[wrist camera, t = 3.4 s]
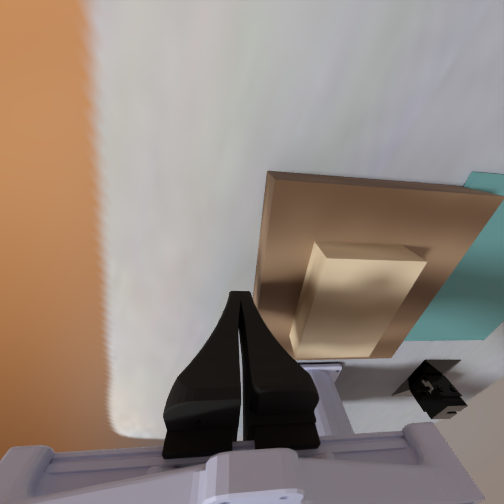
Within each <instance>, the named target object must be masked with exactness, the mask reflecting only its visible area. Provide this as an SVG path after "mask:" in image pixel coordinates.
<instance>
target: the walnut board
mask: <svg viewBox="0 0 504 504" xmlns="http://www.w3.org/2000/svg"><path fill="white" fill-rule="evenodd" d="M503 200H504V196H501V195H497V194H492V193H488V192H483V191H479V190H474V189H470V188H465V187H461V186H454V185H441V184H428V183H416V182H403V181H390V180H377V179H364V178H351V177H338V176H325V175H312V174H300V173H287V172H274V171H267V177H266V186H265V195H264V204H263V213H262V222H261V231H260V240H259V248H258V257H257V266H256V275H255V284H254V293H253V301H254V303H255V306H256V308H257V310H258V312H259V313H260V315H261V317H262V319H263V321H264V322H265V324H266V325H267V327H268V329H269V330H270V331H271V333H272V334H273V336H274V337H275V338H276V340H277V341H278V342H279V343H280V345H281V346H282V347H283V348H284V349H285V350H286V351H287V352H288V354H289V355H290V356H291V357H292V358H293V359H294V360H324V359H370V358H392V356H393V355H394V353H395V352H396V350H397V349H398V348H399V346H400V345H401V343H402V342H403V341H404V339H405V338H406V336H407V335H408V334H409V332H410V331H411V329H412V328H413V327H414V325H415V324H416V322H417V321H418V320H419V318H420V317H421V315H422V314H423V312H424V311H425V310H426V308H427V307H428V305H429V304H430V303H431V301H432V300H433V298H434V297H435V296H436V294H437V293H438V291H439V290H440V289H441V287H442V286H443V284H444V283H445V282H446V280H447V279H448V277H449V276H450V274H451V273H452V272H453V270H454V269H455V267H456V266H457V265H458V263H459V262H460V260H461V259H462V258H463V256H464V255H465V253H466V252H467V251H468V249H469V248H470V246H471V245H472V244H473V242H474V241H475V239H476V238H477V236H478V235H479V234H480V232H481V231H482V229H483V228H484V227H485V225H486V224H487V222H488V221H489V220H490V218H491V217H492V215H493V214H494V213H495V211H496V210H497V208H498V207H499V206H500V204H501V203H502V201H503ZM314 242H338V243H362V244H386V245H403V246H404V247H406V248H407V249H409V250H410V251H412V252H413V253H415V254H416V255H418V256H420V257H421V258H423V259H424V260H426V261H427V263H426V265H425V267H424V268H423V270H422V271H421V273H420V275H419V276H418V278H417V280H416V281H415V283H414V284H413V286H412V288H411V289H410V291H409V293H408V294H407V296H406V297H405V299H404V301H403V302H402V304H401V306H400V307H399V309H398V310H397V312H396V314H395V315H394V317H393V319H392V320H391V322H390V323H389V325H388V327H387V328H386V330H385V332H384V333H383V335H382V336H381V338H380V340H379V341H378V343H377V345H376V346H375V348H374V349H373V351H372V353H371V354H370V356H369V357H343V358H295V355H294V351H293V348H292V344H291V340H290V337H289V335H290V331H291V328H292V324H293V320H294V316H295V312H296V309H297V305H298V301H299V297H300V294H301V290H302V286H303V282H304V279H305V275H306V271H307V267H308V264H309V260H310V256H311V252H312V248H313V245H314Z"/></svg>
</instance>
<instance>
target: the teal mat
mask: <svg viewBox="0 0 504 504" xmlns="http://www.w3.org/2000/svg"><path fill="white" fill-rule="evenodd" d="M463 187H465V188H470V189H474V190H479V191H483V192H488V193H492V194H497V195H501V196H504V174H494V173H483V172H472V173H471V175H470V176H469V178H468V180H467V181H466V183H465V185H464V186H463ZM503 321H504V200H503V201H502V203H501V204H500V206H499V207H498V208H497V210H496V211H495V213H494V214H493V215H492V217H491V218H490V220H489V221H488V222H487V224H486V225H485V227H484V228H483V229H482V231H481V232H480V234H479V235H478V236H477V238H476V239H475V241H474V242H473V244H472V245H471V246H470V248H469V249H468V251H467V252H466V253H465V255H464V256H463V258H462V259H461V260H460V262H459V263H458V265H457V266H456V267H455V269H454V270H453V272H452V273H451V274H450V276H449V277H448V279H447V280H446V282H445V283H444V284H443V286H442V287H441V289H440V290H439V291H438V293H437V294H436V296H435V297H434V298H433V300H432V301H431V303H430V304H429V305H428V307H427V308H426V310H425V311H424V312H423V314H422V315H421V317H420V318H419V320H418V321H417V322H416V324H415V325H414V327H413V328H412V329H411V331H410V332H409V334H408V335H407V336H406V338H405V339H404V341H438V340H484V339H486V338H487V337H488V336H489V335H490V334H491V333H492V332H493V331H494V330H495V329H496V328H497V327H498V326H499V325H500V324H501V323H502V322H503Z"/></svg>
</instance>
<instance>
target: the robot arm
mask: <svg viewBox="0 0 504 504" xmlns="http://www.w3.org/2000/svg"><path fill="white" fill-rule="evenodd" d="M238 330H239V335H240V344H241V354H242V367H243V441H237V432H238V426H239V416H240V407H241V382H240V364H239V340H238ZM341 370H342V366H341V364H304V365H299V364H298V363H297V362H296V361H295V360H294V359H293V358H292V357H291V356H290V355H289V354H288V352H287V351H286V350H285V349H284V348H283V347H282V346H281V345H280V343H279V342H278V341H277V340H276V338H275V337H274V336H273V334H272V333H271V331H270V330H269V329H268V327H267V325H266V324H265V322H264V321H263V319H262V317H261V315H260V313H259V312H258V310H257V308H256V306H255V303H254V301H253V299H252V296H251V293H250V292H249V291H231V292H229V298H228V301H227V304H226V307H225V309H224V311H223V314H222V316H221V318H220V320H219V322H218V324H217V326H216V328H215V329H214V331H213V333H212V334H211V336H210V337H209V339H208V340H207V342H206V343H205V345H204V346H203V348H202V349H201V350H200V352H199V353H198V354H197V355H196V357H195V358H194V359H193V360H192V362H191V363H190V364H189V365H188V366H187V367H186V368H185V369H184V371H183V372H182V373H181V374H180V375H179V376H178V377H177V379H176V381H175V383H174V385H173V387H172V389H171V391H170V393H169V396H168V399H167V402H166V406H165V409H164V413H163V418H164V422H165V425H166V428H167V433H166V438H165V442H164V446H158V447H157V446H156V447H140V448H125V449H108V450H93V451H77V452H61V453H54V451H53V449H52V448H50V447H48V446H44V445H36V446H19V447H12V448H10V449H9V450H8V452H7V453H6V454H5V456H4V457H3V458H2V460H1V461H0V504H476V503H479V502H482V501H484V500H485V497H484V495H483V494H482V493H481V491H480V490H479V488H478V487H477V485H476V484H475V482H474V481H473V479H472V478H471V477H470V475H469V474H468V472H467V471H466V470H465V468H464V466H463V465H462V463H461V462H460V461H459V459H458V458H457V456H456V455H455V453H454V452H453V450H452V449H451V448H450V446H449V445H448V443H447V442H446V440H445V439H444V437H443V436H442V435H441V433H440V432H439V430H438V429H437V427H436V426H435V424H434V423H432V422H423V423H411V424H408V425H406V426H405V427H404V428H403V429H402V431H393V432H377V433H361V434H354V431H353V429H352V426H351V424H350V421H349V419H348V416H347V414H346V411H345V409H344V406H343V404H342V401H341V399H340V396H339V394H338V391H337V389H336V386H335V384H334V383H335V381H336V379H337V377H338V376H339V374H340V372H341Z"/></svg>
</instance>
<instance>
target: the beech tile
mask: <svg viewBox="0 0 504 504" xmlns="http://www.w3.org/2000/svg"><path fill="white" fill-rule="evenodd" d="M426 263H427V261H426V260H424V259H423V258H421V257H420V256H418V255H416V254H415V253H413V252H412V251H410V250H409V249H407V248H406V247H404V246H403V245H386V244H362V243H338V242H314V245H313V248H312V252H311V256H310V260H309V264H308V267H307V271H306V275H305V279H304V282H303V286H302V290H301V294H300V297H299V301H298V305H297V309H296V312H295V316H294V320H293V324H292V328H291V331H290V335H289V337H290V340H291V344H292V348H293V351H294V355H295V358H343V357H369V356H370V354H371V353H372V351H373V349H374V348H375V346H376V345H377V343H378V341H379V340H380V338H381V336H382V335H383V333H384V332H385V330H386V328H387V327H388V325H389V323H390V322H391V320H392V319H393V317H394V315H395V314H396V312H397V310H398V309H399V307H400V306H401V304H402V302H403V301H404V299H405V297H406V296H407V294H408V293H409V291H410V289H411V288H412V286H413V284H414V283H415V281H416V280H417V278H418V276H419V275H420V273H421V271H422V270H423V268H424V267H425V265H426Z"/></svg>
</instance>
